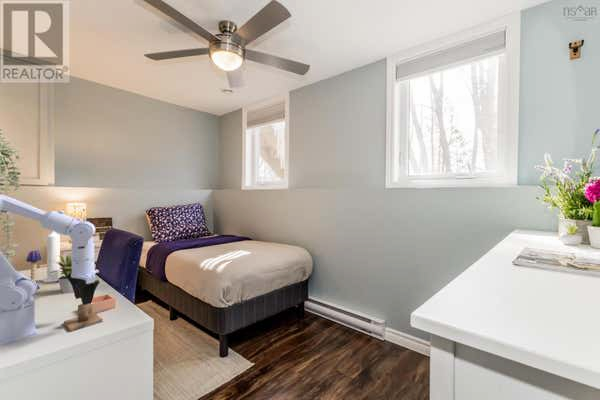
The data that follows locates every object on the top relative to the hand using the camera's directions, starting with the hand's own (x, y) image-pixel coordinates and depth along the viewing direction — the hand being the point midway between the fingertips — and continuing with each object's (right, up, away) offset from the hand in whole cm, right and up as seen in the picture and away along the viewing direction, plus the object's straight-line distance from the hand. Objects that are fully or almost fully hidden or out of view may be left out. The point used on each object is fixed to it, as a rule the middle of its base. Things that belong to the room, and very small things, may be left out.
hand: (83, 300), depth 85 cm
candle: (-48, -6, +41) cm, 64 cm away
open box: (-2, -7, +10) cm, 13 cm away
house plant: (-31, -7, +28) cm, 42 cm away
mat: (0, -8, 0) cm, 8 cm away
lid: (0, -7, 0) cm, 7 cm away
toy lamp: (-46, -7, +29) cm, 55 cm away
